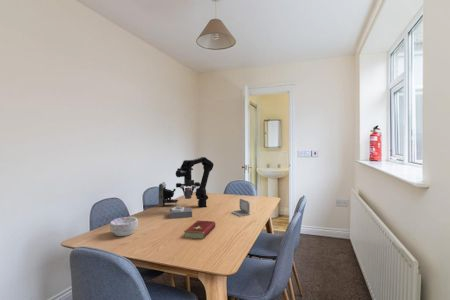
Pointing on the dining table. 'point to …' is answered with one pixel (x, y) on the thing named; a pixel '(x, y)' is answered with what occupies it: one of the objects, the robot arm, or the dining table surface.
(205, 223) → the hardcover book
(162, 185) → the vintage camera
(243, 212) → the handheld gaming console
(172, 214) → the octagon ring plate
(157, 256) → the dining table surface
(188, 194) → the lens
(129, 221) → the speckled grey bowl
